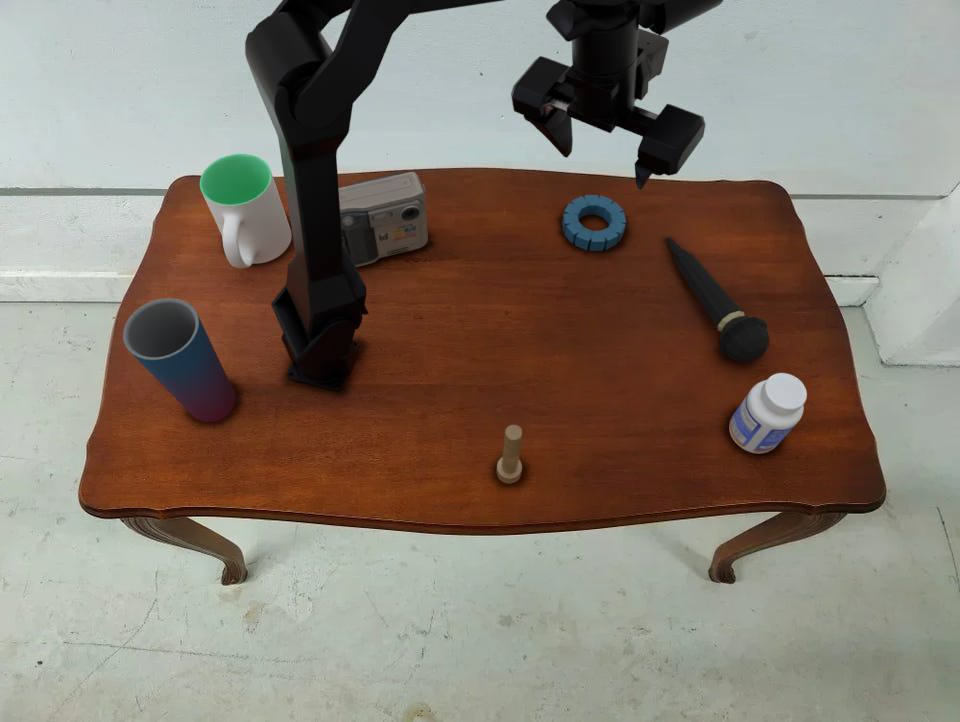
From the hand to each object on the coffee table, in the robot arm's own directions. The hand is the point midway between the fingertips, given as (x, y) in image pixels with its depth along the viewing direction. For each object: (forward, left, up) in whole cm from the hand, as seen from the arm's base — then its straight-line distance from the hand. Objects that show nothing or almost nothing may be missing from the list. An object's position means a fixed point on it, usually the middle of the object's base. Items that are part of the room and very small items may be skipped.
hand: (604, 170), depth 76 cm
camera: (-25, -5, -15) cm, 29 cm away
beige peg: (-2, -31, -14) cm, 34 cm away
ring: (0, +5, -14) cm, 15 cm away
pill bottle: (+22, -19, -15) cm, 33 cm away
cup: (-36, -31, -15) cm, 50 cm away
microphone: (+16, -3, -15) cm, 22 cm away
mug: (-40, -10, -15) cm, 44 cm away
